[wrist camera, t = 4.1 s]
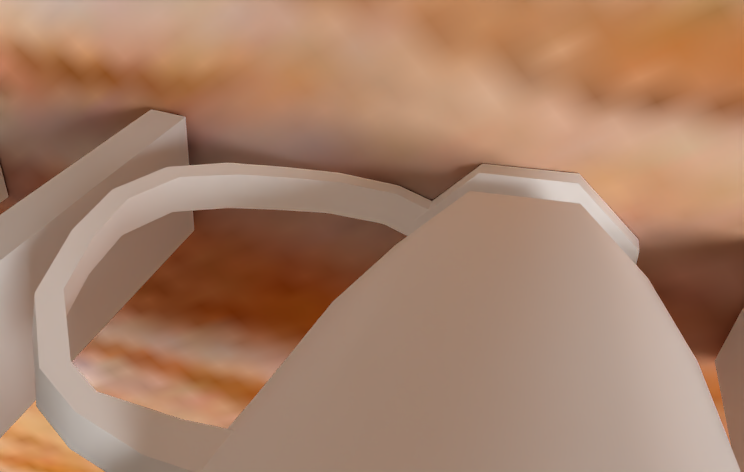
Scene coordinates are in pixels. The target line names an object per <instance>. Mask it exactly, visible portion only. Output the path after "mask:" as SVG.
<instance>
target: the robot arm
mask: <svg viewBox="0 0 744 472" xmlns="http://www.w3.org/2000/svg"><path fill="white" fill-rule="evenodd" d="M187 165H189V154H188V142H187V129H186V117H185V116H180V115H175V114H171V113H166V112H162V111H157V110H152V109H151V110H149V111H148V112H146V113H145V114H143V115H142V116H141V117H139V118H138V119H136V120H135V121H133V122H132V123H131V124H129V125H128V126H126V127H125V128H123V129H122V130H121V131H119V132H118V133H116V134H115V135H113V136H112V137H111V138H109V139H108V140H106V141H105V142H103V143H102V144H101V145H99V146H98V147H96V148H95V149H93V150H92V151H91V152H89V153H88V154H86V155H85V156H83V157H82V158H81V159H79V160H78V161H76V162H75V163H73V164H72V165H71V166H69V167H68V168H66V169H65V170H63V171H62V172H61V173H59V174H58V175H56V176H55V177H53V178H52V179H51V180H49V181H48V182H46V183H45V184H43V185H42V186H41V187H39V188H38V189H36V190H35V191H33V192H32V193H31V194H29V195H28V196H26V197H25V198H23V199H22V200H21V201H19V202H18V203H16V204H15V205H13V206H12V207H11V208H9V209H8V210H6V211H5V212H3V213H2V214H1V215H0V438H1V437H2V436H3V435H4V434H5V432H6V431H7V430H8V429H9V428H10V427H11V426H12V425H13V424H14V423H15V422H16V421H17V420H18V419H19V417H20V416H21V415H22V414H23V413H24V412H25V411H26V410H27V409H28V408H29V407H30V406H31V405H32V404H33V402H34V401H35V400H36V389H35V372H34V355H33V338H32V327H33V309H34V293H35V291H36V290H37V288H38V286H39V285H40V283H41V281H42V280H43V278H44V276H45V274H46V273H47V271H48V269H49V268H50V266H51V264H52V263H53V261H54V259H55V258H56V256H57V254H58V253H59V251H60V249H61V248H62V246H63V244H64V243H65V241H66V239H67V237H68V236H69V234H70V232H71V231H72V229H73V228H74V227H75V226H76V225H77V224H78V223H79V222H80V221H81V220H82V219H83V218H84V217H85V216H86V215H87V214H88V213H89V212H90V211H91V210H92V209H93V208H94V207H95V206H96V205H97V204H98V203H99V202H100V201H101V200H102V199H103V198H104V197H105V196H106V195H107V194H108V193H109V192H110V191H111V190H112V189H115V188H117V187H119V186H122V185H124V184H127V183H129V182H132V181H134V180H136V179H139V178H141V177H144V176H146V175H149V174H151V173H153V172H156V171H158V170H161V169H163V168H166V167H173V166H187ZM193 231H194V218H193V211H180V212H171V213H169V214H167V215H165V216H162V217H160V218H158V219H156V220H154V221H152V222H149V223H147V224H145V225H143V226H141V227H139V228H137V229H134V230H132V231H130V232H128V233H126V234H124V235H122V236H121V237H120V238H119V239H118V241H117V242H116V243H115V244H114V245H113V247H112V248H111V249H110V250H109V251H108V252H107V254H106V255H105V256H104V257H103V258H102V259H101V261H100V262H99V263H98V264H97V265H96V266H95V268H94V269H93V270H92V271H91V272H90V274H89V275H88V277H87V279H86V281H85V282H84V284H83V286H82V288H81V290H80V292H79V294H78V295H77V297H76V299H75V301H74V303H73V305H72V306H71V308H70V310H69V312H68V314H67V316H66V318H67V328H68V339H69V349H70V359H71V362H72V361H73V360H74V359H75V357H76V356H77V355H78V354H79V353H80V352H81V351H82V350H83V349H84V348H85V347H86V346H87V345H88V344H89V343H90V341H91V340H92V339H93V338H94V337H95V336H96V335H97V334H98V333H99V332H100V331H101V330H102V329H103V328H104V326H105V325H106V324H107V323H108V322H109V321H110V320H111V319H112V318H113V317H114V316H115V315H116V314H117V313H118V311H119V310H120V309H121V308H122V307H123V306H124V305H125V304H126V303H127V302H128V301H129V300H130V299H131V298H132V296H133V295H134V294H135V293H136V292H137V291H138V290H139V289H140V288H141V287H142V286H143V285H144V284H145V283H146V281H147V280H148V279H149V278H150V277H151V276H152V275H153V274H154V273H155V272H156V271H157V270H158V269H159V268H160V266H161V265H162V264H163V263H164V262H165V261H166V260H167V259H168V258H169V257H170V256H171V255H172V254H173V253H174V251H175V250H176V249H177V248H178V247H179V246H180V245H181V244H182V243H183V242H184V241H185V240H186V239H187V238H188V236H189V235H190V234H191V233H192V232H193ZM715 365H716V370H717V376H718V381H719V386H720V391H721V396H722V401H723V406H724V411H725V416H726V422H727V427H728V432H729V437H730V442H731V447H732V450H733V453H734V455H735V458H736V460H737V463H738V465H739V468H740V470H741V472H744V307H743V309H742V311H741V313H740V314H739V316H738V318H737V320H736V322H735V324H734V326H733V327H732V329H731V331H730V333H729V335H728V337H727V338H726V340H725V342H724V344H723V346H722V348H721V350H720V351H719V353H718V355H717V357H716V359H715Z"/></svg>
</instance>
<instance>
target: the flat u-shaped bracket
mask: <svg viewBox="0 0 744 472" xmlns="http://www.w3.org/2000/svg"><path fill="white" fill-rule="evenodd" d="M8 197H9V196H8V193H7V189H6V185H5V181H4V177H3V174H2V170H1V166H0V202H2V201H3V200H5V199H6V198H8Z"/></svg>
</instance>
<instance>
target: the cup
mask: <svg viewBox="0 0 744 472" xmlns="http://www.w3.org/2000/svg"><path fill="white" fill-rule="evenodd" d="M221 208H243V209H271V210H288V211H303V212H318V213H330V214H335V215H340V216H345V217H350V218H356V219H361V220H366V221H371V222H376V223H381V224H384V225H386V226H388V227H390V228H392V229H394V230H396V231H398V232H400V233H402V234H404V235H406V236H407V237H405V238H404V239H403V240H401V241H400V242H398V243H397V244H396V245H395V246H394V247H393V248H392V249H390V250H389V251H388V252H387V253H386V254H385V255H384V256H383V257H382V258H380V259H379V260H378V261H377V262H376V263H375V264H374V265H373V266H372V267H370V268H369V269H368V270H367V271H366V272H365V273H364V274H363V275H362V276H360V277H359V278H358V279H357V280H356V281H355V282H354V283H353V284H352V285H350V286H349V287H348V288H347V289H346V290H345V291H344V292H343V293H342V294H341V295H339V296H338V297H337V298H336V299H335V300H334V301H333V302H332V303H331V304H330V306H329V307H328V308H327V309H326V311H325V312H324V313H323V314H322V315H321V317H320V318H319V319H318V320H317V322H316V323H315V324H314V325H313V326H312V328H311V329H310V330H309V331H308V333H307V334H306V335H305V336H304V337H303V339H302V340H301V341H300V342H299V344H298V345H297V346H296V347H295V348H294V350H293V351H292V352H291V353H290V355H289V356H288V357H287V358H286V359H285V361H284V362H283V363H282V364H281V366H280V367H279V368H278V369H277V370H276V372H275V373H274V374H273V375H272V377H271V378H270V379H269V380H268V381H267V383H266V384H265V385H264V386H263V388H262V389H261V390H260V391H259V392H258V394H257V395H256V396H255V397H254V398H253V400H252V401H251V402H250V403H249V404H248V405H247V407H246V408H245V409H244V410H243V411H242V412H241V414H240V415H239V416H238V417H237V418H236V419H235V420H234V422H233V423H232V424H231V425H230V426H229V427H228V429H226V428H221V427H217V426H212V425H207V424H202V423H198V422H193V421H188V420H184V419H180V418H177V417H174V416H170V415H167V414H164V413H161V412H158V411H155V410H152V409H149V408H146V407H143V406H140V405H137V404H134V403H131V402H128V401H125V400H121V399H118V398H115V397H112V396H109V395H106V394H103V393H100V392H97V391H96V390H95V389H94V388H93V386H92V385H91V384H90V383H89V382H88V381H87V379H86V378H85V377H84V376H83V375H82V374H81V372H80V371H79V370H78V369H77V368H76V367H75V365H74V364H73V363H72V362H71V359H70V349H69V339H68V328H67V318H66V316H67V314H68V312H69V310H70V308H71V306H72V305H73V303H74V301H75V299H76V297H77V295H78V294H79V292H80V290H81V288H82V286H83V284H84V282H85V281H86V279H87V277H88V275H89V274H90V272H91V271H92V270H93V269H94V268H95V266H96V265H97V264H98V263H99V262H100V261H101V259H102V258H103V257H104V256H105V255H106V254H107V252H108V251H109V250H110V249H111V248H112V247H113V245H114V244H115V243H116V242H117V241H118V239H119V238H120V237H121V236H122V235H124V234H126V233H128V232H130V231H132V230H134V229H137V228H139V227H141V226H143V225H145V224H147V223H149V222H152V221H154V220H156V219H158V218H160V217H162V216H165V215H167V214H169V213H171V212H180V211H193V210H207V209H221ZM638 255H639V240H638V238H637V237H636V236H635V235H634V234H633V233H632V232H631V231H630V230H629V228H628V227H627V226H626V225H625V224H624V223H623V222H622V221H621V220H620V218H619V217H618V216H617V215H616V214H615V213H614V212H613V211H612V209H611V208H610V207H609V206H608V205H607V204H606V203H605V202H604V201H603V199H602V198H601V197H600V196H599V195H598V194H597V193H596V192H595V191H594V189H593V188H592V187H591V186H590V185H589V184H588V183H587V182H586V181H585V179H584V178H583V177H582V176H581V175H580V174H578V173H569V172H559V171H549V170H540V169H530V168H521V167H511V166H501V165H492V164H481V165H480V166H478V167H477V168H476V169H474V170H473V171H472V172H470V173H469V174H468V175H466V176H465V177H464V178H462V179H461V180H460V181H458V182H457V183H456V184H454V185H453V186H452V187H450V188H449V189H448V190H446V191H445V192H443V193H442V194H441V195H439V196H438V197H437V198H435V199H434V200H433V201H431V200H429V199H426V198H424V197H422V196H420V195H418V194H416V193H414V192H411V191H409V190H407V189H405V188H403V187H401V186H398V185H394V184H390V183H385V182H381V181H376V180H371V179H367V178H362V177H357V176H353V175H348V174H343V173H339V172H329V171H320V170H310V169H300V168H291V167H281V166H267V165H254V164H240V163H215V164H201V165H187V166H173V167H166V168H163V169H161V170H158V171H156V172H153V173H151V174H149V175H146V176H144V177H141V178H139V179H136V180H134V181H132V182H129V183H127V184H124V185H122V186H119V187H117V188H115V189H112V190H111V191H110V192H109V193H108V194H107V195H106V196H105V197H104V198H103V199H102V200H101V201H100V202H99V203H98V204H97V205H96V206H95V207H94V208H93V209H92V210H91V211H90V212H89V213H88V214H87V215H86V216H85V217H84V218H83V219H82V220H81V221H80V222H79V223H78V224H77V225H76V226H75V227H74V228H73V229H72V231H71V232H70V234H69V236H68V237H67V239H66V241H65V243H64V244H63V246H62V248H61V249H60V251H59V253H58V254H57V256H56V258H55V259H54V261H53V263H52V264H51V266H50V268H49V269H48V271H47V273H46V274H45V276H44V278H43V280H42V281H41V283H40V285H39V286H38V288H37V290H36V291H35V293H34V309H33V327H32V338H33V355H34V372H35V389H36V406H37V408H38V409H39V410H40V412H41V413H42V414H43V415H44V417H45V418H46V419H47V420H48V422H49V423H50V424H51V425H52V427H53V428H54V429H55V431H56V432H57V433H58V434H59V436H60V437H61V438H62V439H63V441H64V442H65V443H66V445H67V446H68V447H69V448H70V449H71V450H73V451H74V452H76V453H78V454H79V455H81V456H82V457H84V458H85V459H87V460H88V461H90V462H91V463H93V464H95V465H96V466H98V467H99V468H101V469H102V470H104V471H105V472H741V470H740V468H739V465H738V463H737V460H736V458H735V455H734V453H733V450H732V448H731V445H730V443H729V440H728V437H727V435H726V432H725V430H724V427H723V425H722V422H721V420H720V417H719V415H718V412H717V410H716V407H715V404H714V402H713V399H712V397H711V394H710V392H709V389H708V387H707V384H706V382H705V379H704V377H703V374H702V371H701V369H700V366H699V364H698V361H697V359H696V358H695V356H694V354H693V353H692V351H691V349H690V348H689V346H688V344H687V343H686V341H685V339H684V338H683V336H682V334H681V333H680V331H679V329H678V328H677V326H676V324H675V322H674V321H673V319H672V317H671V316H670V314H669V312H668V311H667V309H666V307H665V306H664V304H663V302H662V301H661V299H660V297H659V296H658V294H657V292H656V291H655V289H654V287H653V286H652V284H651V282H650V280H649V279H648V277H647V276H646V275H645V274H644V273H643V272H642V271H641V270H640V269H639V267H638V266H637V265H636V263H637V259H638Z"/></svg>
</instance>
